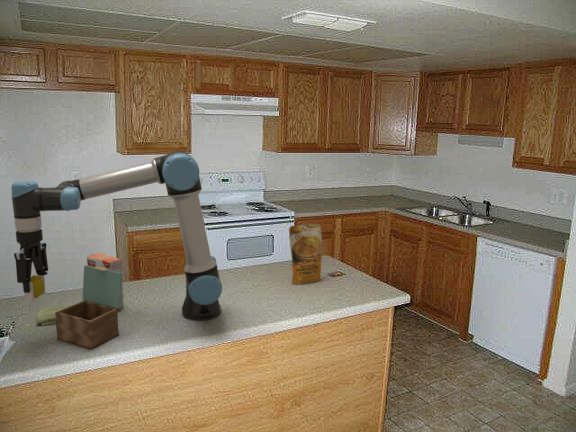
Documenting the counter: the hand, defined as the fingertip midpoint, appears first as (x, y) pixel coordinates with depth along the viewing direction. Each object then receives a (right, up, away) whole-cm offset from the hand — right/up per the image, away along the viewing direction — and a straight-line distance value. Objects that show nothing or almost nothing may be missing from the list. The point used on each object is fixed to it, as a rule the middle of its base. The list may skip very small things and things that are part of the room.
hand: (35, 297), depth 155 cm
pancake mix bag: (+92, -5, +70) cm, 116 cm away
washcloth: (-2, -12, +24) cm, 27 cm away
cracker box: (+10, -10, +34) cm, 37 cm away
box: (+14, -15, +7) cm, 22 cm away
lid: (+17, +2, +9) cm, 19 cm away
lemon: (0, -1, 0) cm, 1 cm away
